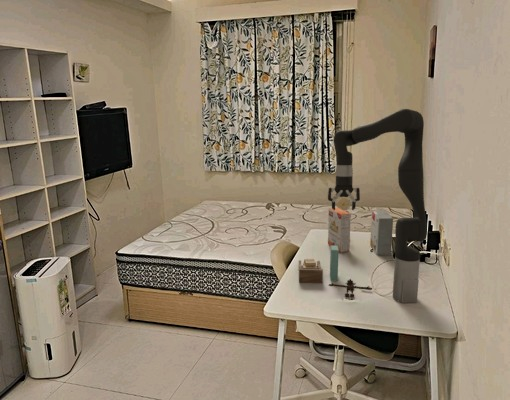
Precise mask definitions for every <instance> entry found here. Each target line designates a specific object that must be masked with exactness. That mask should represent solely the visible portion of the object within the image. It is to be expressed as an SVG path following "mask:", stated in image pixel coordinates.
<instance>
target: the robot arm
mask: <svg viewBox="0 0 510 400" xmlns="http://www.w3.org/2000/svg"><path fill="white" fill-rule="evenodd" d="M424 125H425V123H424V117H423V115H422V114H421V113H420V112H419V111H417V110H413V109H409V108H402V109H399V110H397V111H395V112H394V111H393V113H390V114H388V115H386V116H385V117H382V118H380V119H378V120H375V121H372V122H369V123H366V124H362V125H358V126H356V127H353V129H347V130H346V129H345V130H338V131H336V132H335V133H334V135H333V146H334V151H335V154H336V166H335V167H336V168H335V187H330V186H329V187H328V190H327V191H328V192H327V200H328V201H329V202H331V208H332V209H333V210H335V208H336V200H337V199H338V198H339V197H340V198H344V197H345V198H348V197H349V198H350V200H352V201H351V210H352V211H354V210H355V209H356V204H357V203H356V202H358V201H360V200H361V196H360V194H361V193H360V188H359V187H358V186H356V187H353V178H354V177H353V175H354V172H353V171H354V170H353V168H354V167H353V153H352V152H351V151H348V147H350V146H355V145H358V144H360V143H364V142H368V141H371V140H374V139H377V138H379V137H380V136H381V135H382V136H383V135H384V134H387V133H396V132H397V133H401V134H404V149H403V150H404V151H403V152H402V156H401V158H400V160H399V163H398V167H397V169H398V170H397V176H398V181H397V182H398V186H399V188H400V190H401V192H402V193H403V194H404V195H405V197H406V198H407V200H408V202H409V203H410V205H411V207H412V210H413V217H400V218H398V219H397V220H396V223H395V230H394V231H395V233H394V235H395V238H394V239H395V240H394V241H395V242H394V243H395V244H394V248H395V250H394V251H395V253H394V269H393V281H392V298H393V299H394V300H395V301H398V302H400V303H402V304H406V303H407V304H409V303H412V304H413V303H418V294H419V293H418V292H419V274H420V264H421V263H420V262H421V252H420V251H419V250H418V249H417V248H415V247H412V246H409V245H408V243H409V242H410V243H411V242H423V241H425V239H426V238H427V233H428V226H427V217H426V208H425V193H424V191H425V190H424V189H425V188H424V187H425V186H424V181H425V180H424V179H425V177H424V163H423V161H424V160H423V141H424ZM334 191H335V194H334V196H333V197H332V193H333V192H334ZM353 192H355V196H356V197H354V196H353V195H352V193H353Z"/></svg>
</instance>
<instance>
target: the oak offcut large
mask: <svg viewBox="0 0 510 400" xmlns="http://www.w3.org/2000/svg"><path fill="white" fill-rule="evenodd" d="M302 265H303V269H317V267H306V266H305V264H304V261H303V262H302Z"/></svg>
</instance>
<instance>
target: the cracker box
mask: <svg viewBox="0 0 510 400" xmlns="http://www.w3.org/2000/svg"><path fill="white" fill-rule="evenodd" d="M346 211H347V210H345V211H344V210H342V209H340V208H337V207H335V210H333V209H332V207H330V208H328V223H327V224H328V227H327V229H328V232H327V234H328V236H327V237H328V238H327V245H328V246H330V247H331V246H338V250H339V254H340V253H347V252H350V243H351V242H350V241H351V240H350V239H351V217H352V216H351V215H352V214H351V213H350V212H349V211H348V212H349V213H348V212H346Z"/></svg>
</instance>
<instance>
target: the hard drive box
mask: <svg viewBox="0 0 510 400" xmlns="http://www.w3.org/2000/svg"><path fill="white" fill-rule="evenodd" d="M370 219H371V222H370V242H369V244H370V247H371V248H372V250H373V252H374V254H375V255H376V256H391V255H392V243H393V229H394V227H393V225H394V218H393V217H392V216H391V214H389V212H387V210H383V209H381V210H379V209H378V210H374V209H373V210H371V218H370Z"/></svg>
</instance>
